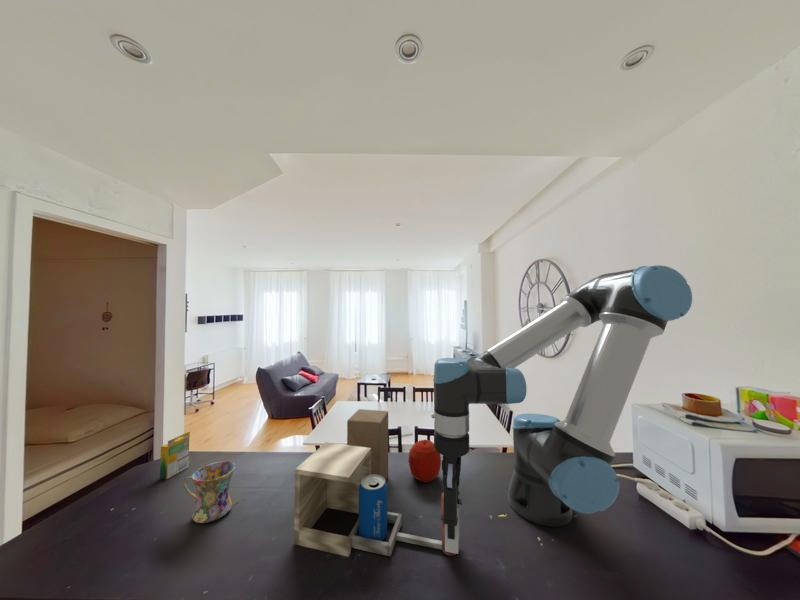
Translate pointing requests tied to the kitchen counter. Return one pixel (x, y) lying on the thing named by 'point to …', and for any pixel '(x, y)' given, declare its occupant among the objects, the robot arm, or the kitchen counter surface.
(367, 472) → the open wooden box
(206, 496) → the mug
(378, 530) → the beverage can
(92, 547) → the kitchen counter surface
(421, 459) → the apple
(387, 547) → the square frame pulling tool
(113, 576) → the kitchen counter surface
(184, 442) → the crayon box
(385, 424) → the wooden block
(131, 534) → the kitchen counter surface
